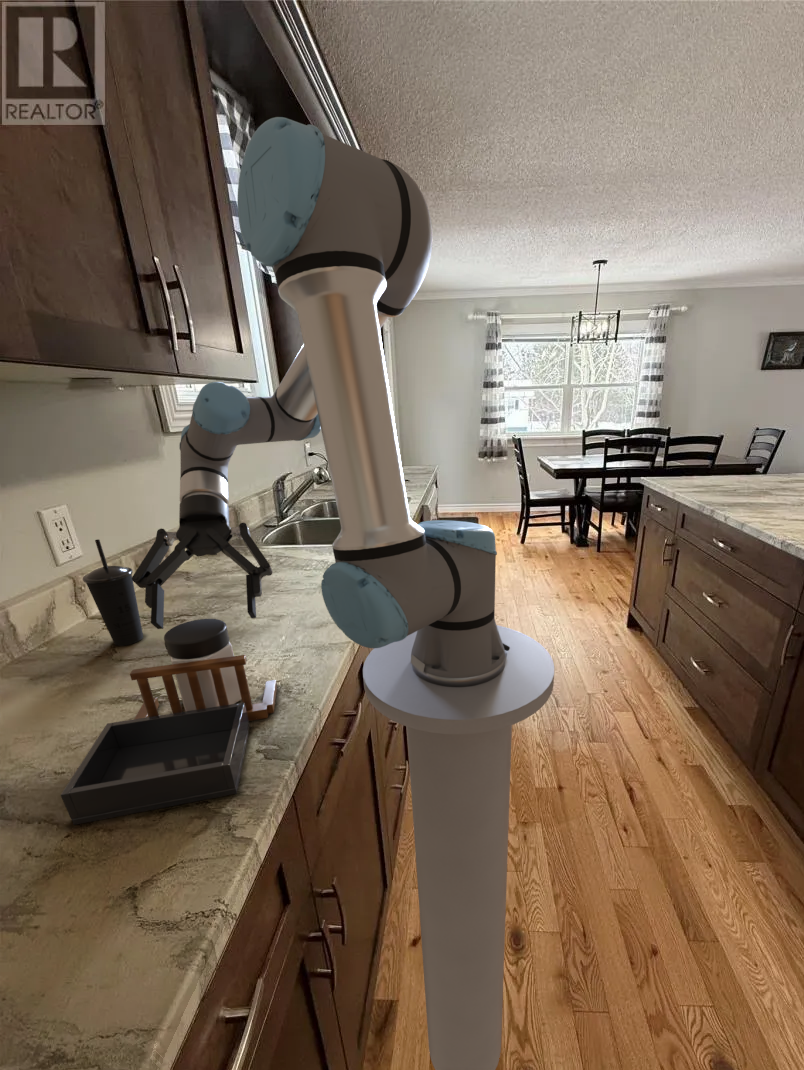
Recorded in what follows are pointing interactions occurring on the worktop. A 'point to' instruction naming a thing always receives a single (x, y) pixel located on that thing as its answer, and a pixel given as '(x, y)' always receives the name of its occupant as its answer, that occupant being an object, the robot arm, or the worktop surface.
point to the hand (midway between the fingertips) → (205, 620)
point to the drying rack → (191, 669)
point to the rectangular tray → (159, 763)
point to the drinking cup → (115, 600)
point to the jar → (202, 658)
